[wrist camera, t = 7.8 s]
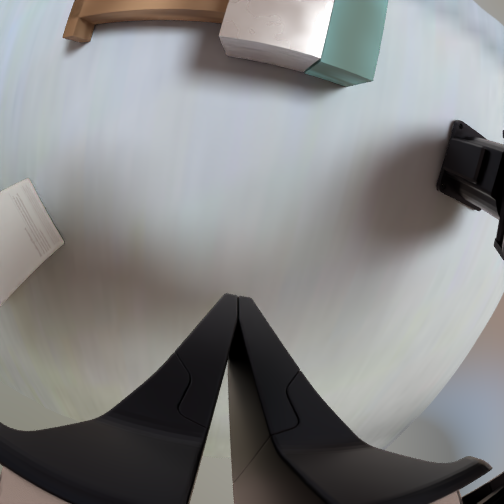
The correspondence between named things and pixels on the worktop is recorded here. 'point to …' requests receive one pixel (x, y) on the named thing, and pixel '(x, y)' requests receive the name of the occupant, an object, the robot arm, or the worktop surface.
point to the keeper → (276, 31)
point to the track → (213, 10)
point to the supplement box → (23, 236)
